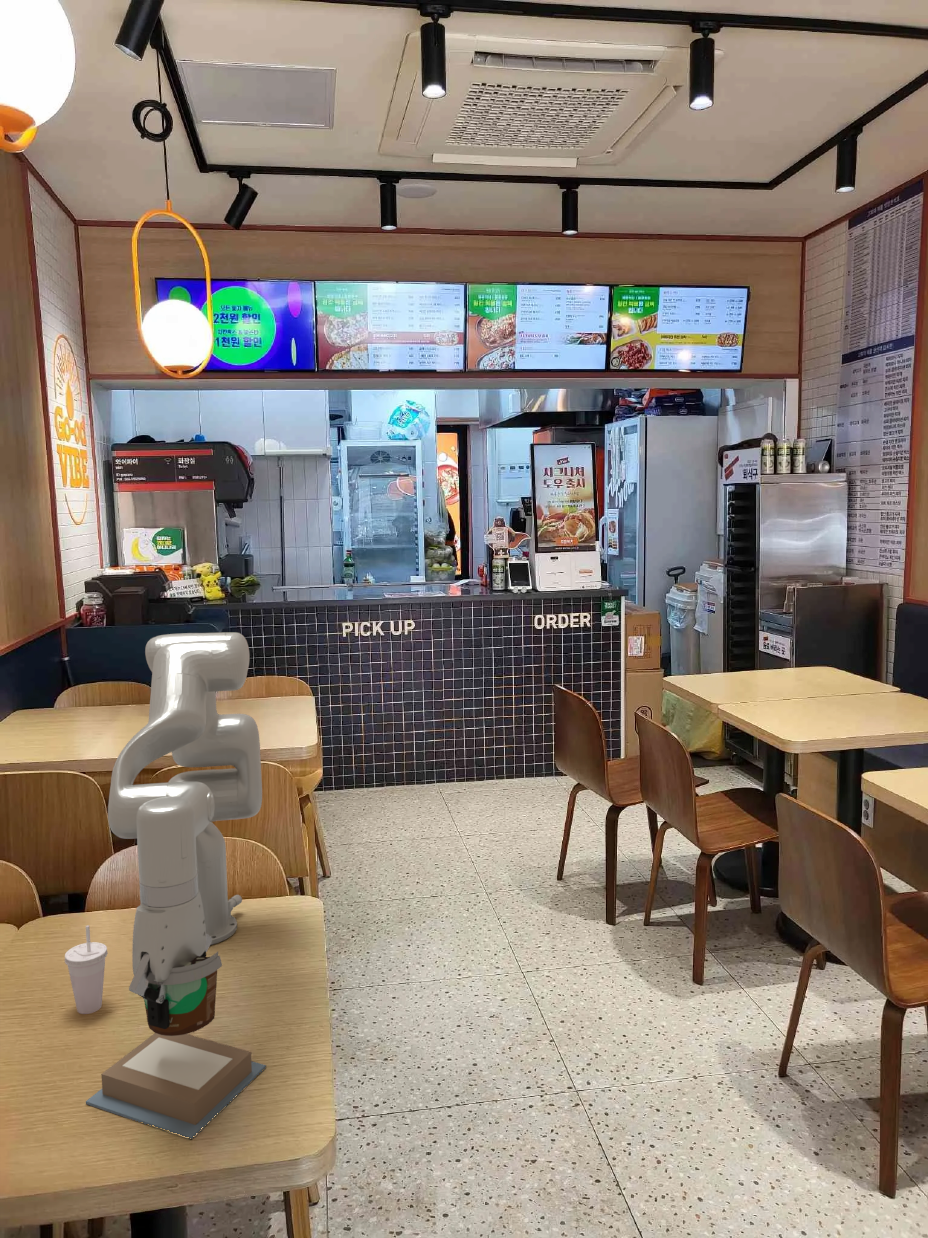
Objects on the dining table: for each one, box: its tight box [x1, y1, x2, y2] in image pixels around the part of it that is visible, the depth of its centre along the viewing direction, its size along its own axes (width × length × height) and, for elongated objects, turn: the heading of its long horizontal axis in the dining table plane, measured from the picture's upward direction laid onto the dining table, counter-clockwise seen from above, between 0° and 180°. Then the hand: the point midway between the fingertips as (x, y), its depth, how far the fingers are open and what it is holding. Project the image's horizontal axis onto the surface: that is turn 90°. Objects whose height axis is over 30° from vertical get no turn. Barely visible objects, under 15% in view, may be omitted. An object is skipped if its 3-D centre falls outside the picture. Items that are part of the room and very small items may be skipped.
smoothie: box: [64, 925, 108, 1015], centre depth 142 cm, size 6×6×14 cm
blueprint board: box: [85, 1032, 267, 1140], centre depth 123 cm, size 16×18×4 cm
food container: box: [143, 950, 223, 1036], centre depth 121 cm, size 12×6×10 cm, turn 80°
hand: (175, 1012), depth 122 cm, fingers closed on food container, 5 cm apart
